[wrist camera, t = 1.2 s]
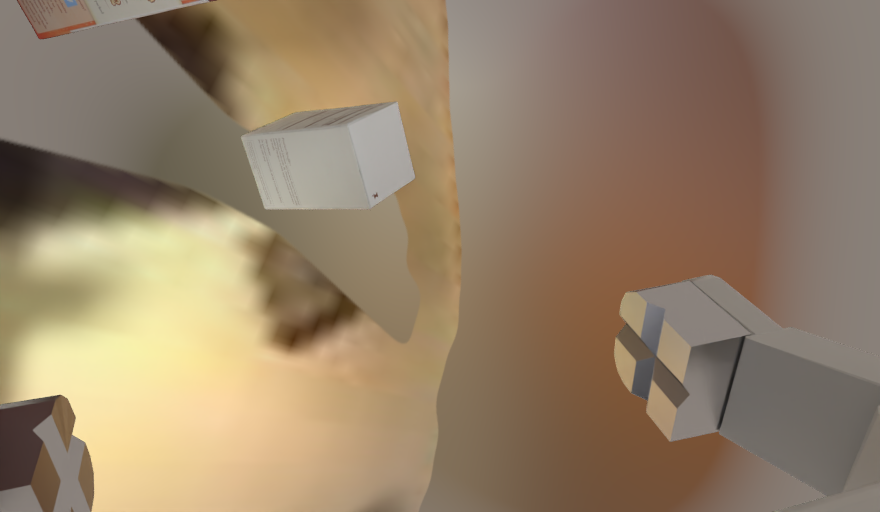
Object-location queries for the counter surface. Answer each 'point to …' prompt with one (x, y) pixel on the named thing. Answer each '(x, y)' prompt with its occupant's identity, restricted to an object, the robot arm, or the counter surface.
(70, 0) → the cracker box
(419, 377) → the counter surface
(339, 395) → the counter surface
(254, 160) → the supplement box
